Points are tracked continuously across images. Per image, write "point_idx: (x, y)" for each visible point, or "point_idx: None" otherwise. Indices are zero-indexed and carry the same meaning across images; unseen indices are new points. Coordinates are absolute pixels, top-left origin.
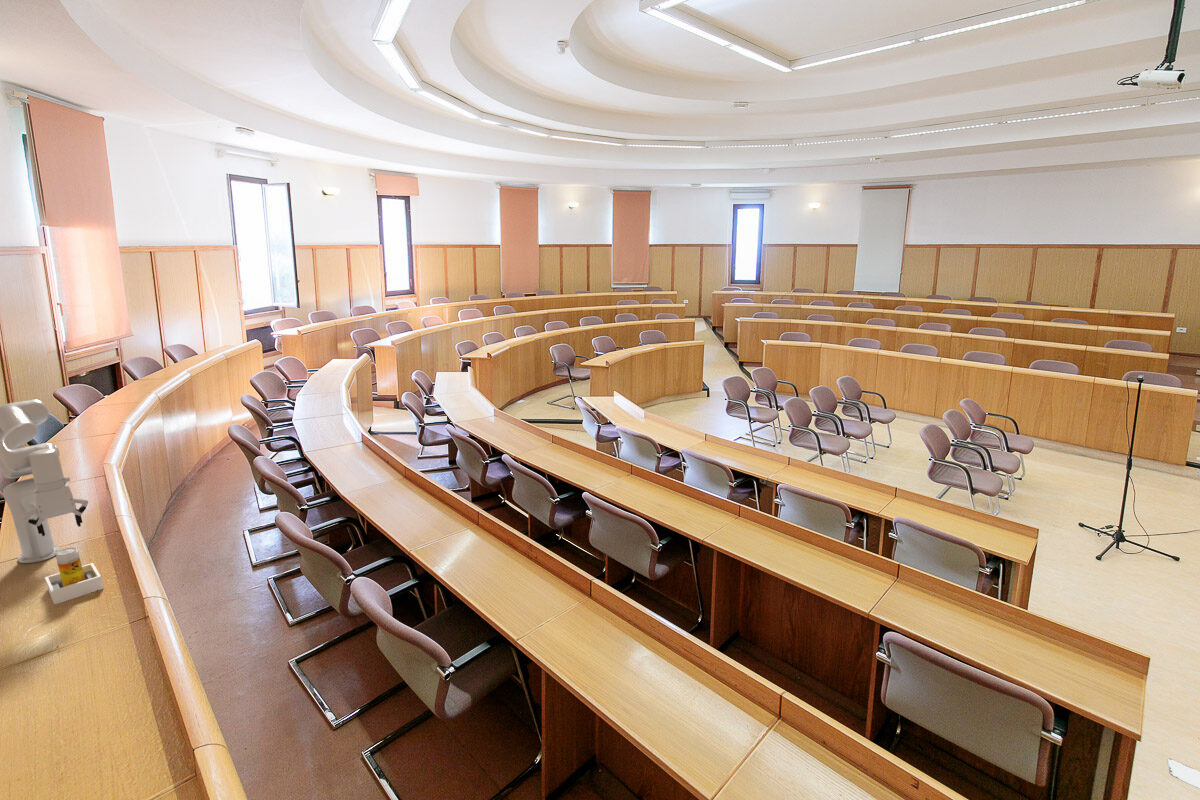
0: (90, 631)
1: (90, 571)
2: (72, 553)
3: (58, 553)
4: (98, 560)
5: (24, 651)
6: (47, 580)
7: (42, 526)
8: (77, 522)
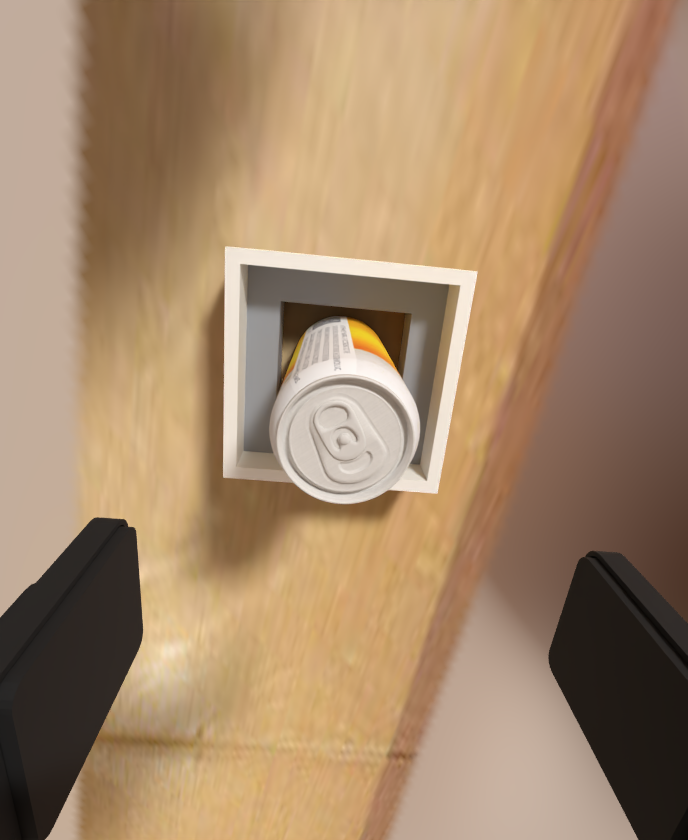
0: (290, 721)
1: (439, 291)
2: (369, 496)
3: (293, 404)
4: (544, 48)
5: None
6: (230, 312)
7: (43, 826)
8: (584, 732)
